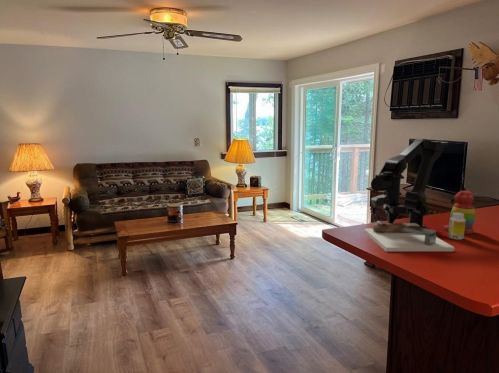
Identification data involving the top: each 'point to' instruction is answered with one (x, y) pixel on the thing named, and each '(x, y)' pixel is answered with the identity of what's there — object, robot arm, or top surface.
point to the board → (405, 241)
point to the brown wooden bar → (392, 227)
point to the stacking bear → (464, 210)
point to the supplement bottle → (456, 226)
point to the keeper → (423, 233)
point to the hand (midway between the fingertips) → (390, 225)
